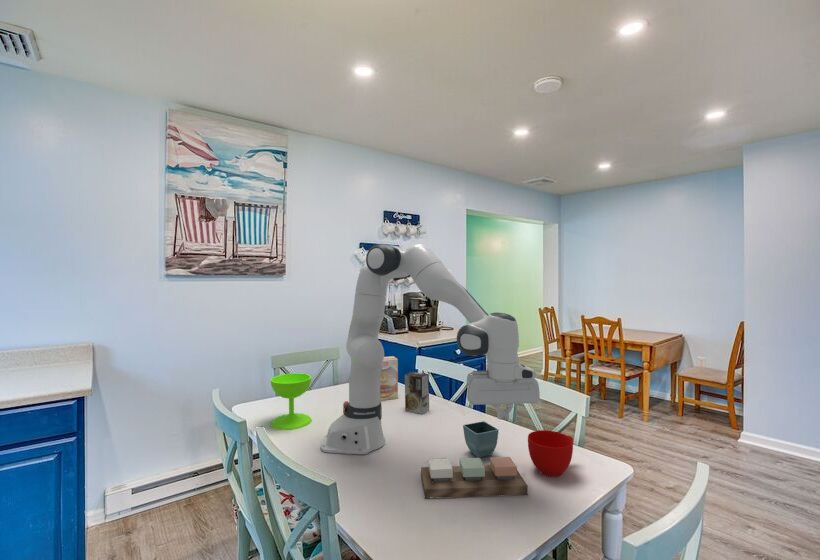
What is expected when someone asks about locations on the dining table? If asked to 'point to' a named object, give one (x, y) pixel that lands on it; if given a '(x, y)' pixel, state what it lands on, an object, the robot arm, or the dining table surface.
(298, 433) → the dining table surface
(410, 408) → the coffee box
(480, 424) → the flower pot
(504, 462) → the pink square block
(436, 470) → the white square block
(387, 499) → the dining table surface
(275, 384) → the wineglass
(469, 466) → the sage tile
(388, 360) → the coffeecake box
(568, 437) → the ceramic cup
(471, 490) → the button board
